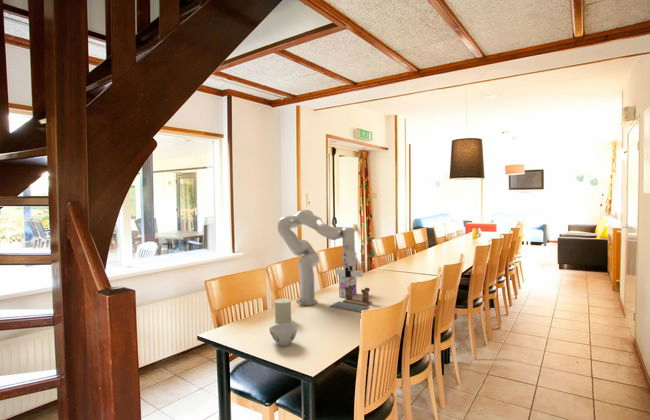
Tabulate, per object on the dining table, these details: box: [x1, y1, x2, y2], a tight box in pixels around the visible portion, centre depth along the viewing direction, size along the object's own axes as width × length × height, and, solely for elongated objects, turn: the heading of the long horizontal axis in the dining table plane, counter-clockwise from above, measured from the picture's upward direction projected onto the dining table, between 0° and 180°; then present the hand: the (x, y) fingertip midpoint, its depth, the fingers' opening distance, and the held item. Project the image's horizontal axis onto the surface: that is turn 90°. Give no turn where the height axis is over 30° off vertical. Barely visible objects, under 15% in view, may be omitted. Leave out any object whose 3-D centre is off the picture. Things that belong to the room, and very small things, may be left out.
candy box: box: [338, 274, 357, 299], centre depth 252 cm, size 14×6×16 cm, turn 143°
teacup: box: [269, 323, 298, 347], centre depth 172 cm, size 15×12×8 cm
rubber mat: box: [329, 301, 370, 314], centre depth 226 cm, size 11×22×1 cm, turn 57°
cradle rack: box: [342, 285, 373, 307], centre depth 235 cm, size 8×17×10 cm, turn 57°
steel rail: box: [335, 268, 364, 278], centre depth 225 cm, size 3×18×3 cm, turn 58°
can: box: [274, 298, 292, 325], centre depth 203 cm, size 9×9×12 cm
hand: (349, 276), depth 225 cm, fingers closed on steel rail, 3 cm apart
